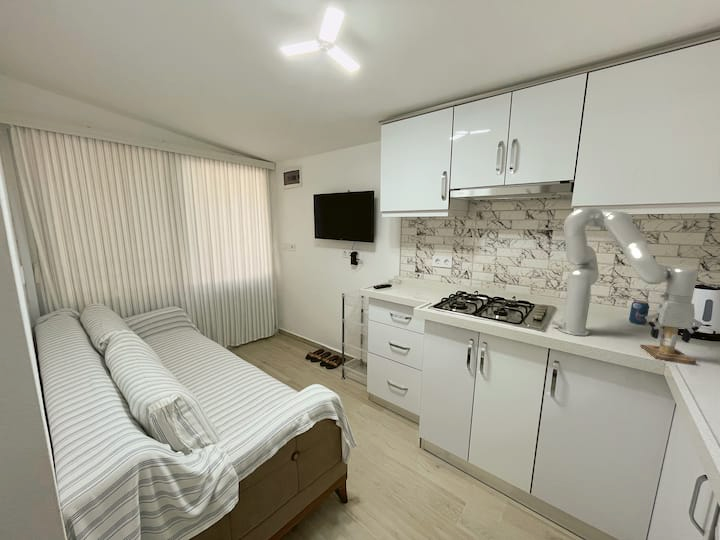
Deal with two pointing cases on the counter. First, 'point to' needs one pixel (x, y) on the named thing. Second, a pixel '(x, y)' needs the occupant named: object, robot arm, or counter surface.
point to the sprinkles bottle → (668, 340)
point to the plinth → (668, 355)
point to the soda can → (639, 312)
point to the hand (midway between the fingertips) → (669, 339)
